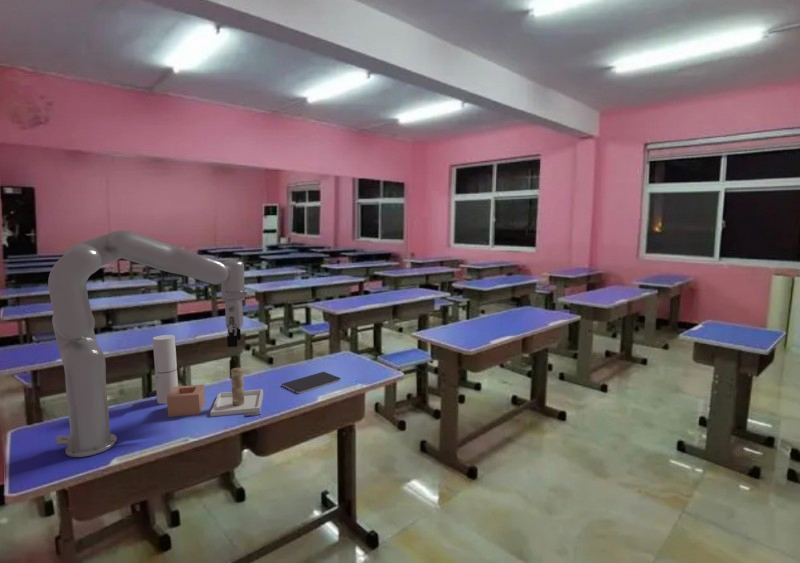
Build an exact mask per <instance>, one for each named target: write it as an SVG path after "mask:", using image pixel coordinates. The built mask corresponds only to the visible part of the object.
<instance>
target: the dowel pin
mask: <svg viewBox="0 0 800 563" xmlns="http://www.w3.org/2000/svg"><path fill="white" fill-rule="evenodd" d="M230 374H231V375H230V377H231V379H230V380H231V392H232V401H233V406H241V405H243V404H244V391H245V389H244V388H245V386H244V385H245V384H244V369H243V368H242V367H234V368H231V370H230Z"/></svg>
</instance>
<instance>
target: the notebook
mask: <svg viewBox="0 0 800 563" xmlns="http://www.w3.org/2000/svg"><path fill="white" fill-rule="evenodd" d="M337 382H341V377H338V376H336V375H335V374H331V373H328V372H326V371H321V372H316V373H314V374H311V375H306V376H304V377H301V378H297V379H293V380H291V381H286V382H284V383H281V387H283V386H284V387H283V388H285V387H286V389H287V388H288V389H287V390H290V391H292V392H294V393H295V394H296V393H297V394H304V393H307V392H309V391H312V390H317V389H319V388H322V387H325V386H330V385H332V384H334V383H337Z"/></svg>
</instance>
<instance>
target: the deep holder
mask: <svg viewBox="0 0 800 563" xmlns="http://www.w3.org/2000/svg"><path fill="white" fill-rule="evenodd" d="M205 389H206V388H205V384H191V385H178V386H177V387H174V388H173V389H172V391H171V392H170V393H169V395H168V396H167V404H166V405H167V406H166V408H167V417H168V418H172V417H182V416H194V415H195V416H196V415H200V414H201V413H202V411H203V409H204V406H205V404H206V391H205Z"/></svg>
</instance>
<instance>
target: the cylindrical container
mask: <svg viewBox="0 0 800 563" xmlns="http://www.w3.org/2000/svg"><path fill="white" fill-rule="evenodd" d="M152 348H153V360H154V364H153V365H154V376H155V389H156V403H158V404H160V405H167V396H168V395H169V393H170V392H171V391H172V389H173V388H174V387H177V386H179V380H178V366H177V364H178V363H177V350H176V335H174V334H162V335H156V336H154V337H152Z"/></svg>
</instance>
